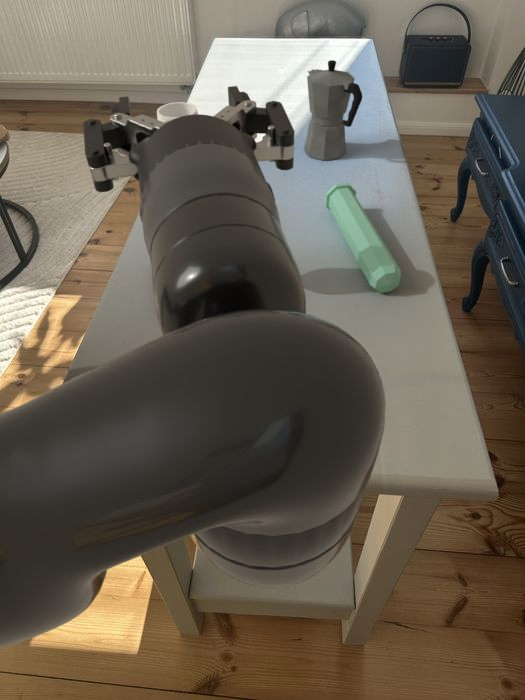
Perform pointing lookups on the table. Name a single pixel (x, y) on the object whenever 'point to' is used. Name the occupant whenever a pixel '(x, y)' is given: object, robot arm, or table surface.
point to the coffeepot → (330, 111)
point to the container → (363, 238)
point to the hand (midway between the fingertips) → (180, 104)
